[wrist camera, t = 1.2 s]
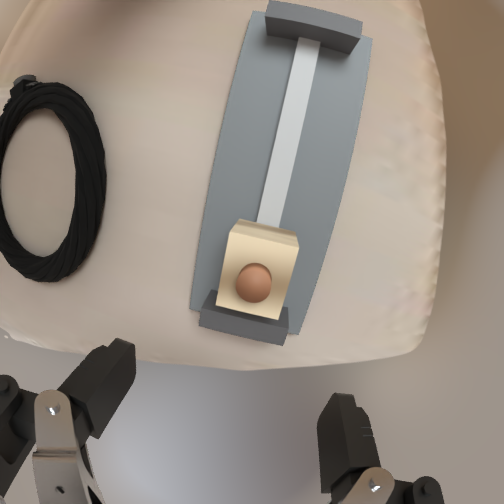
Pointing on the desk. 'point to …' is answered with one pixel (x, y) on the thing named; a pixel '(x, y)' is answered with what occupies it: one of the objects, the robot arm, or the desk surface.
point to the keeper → (257, 268)
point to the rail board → (283, 153)
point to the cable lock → (86, 183)
